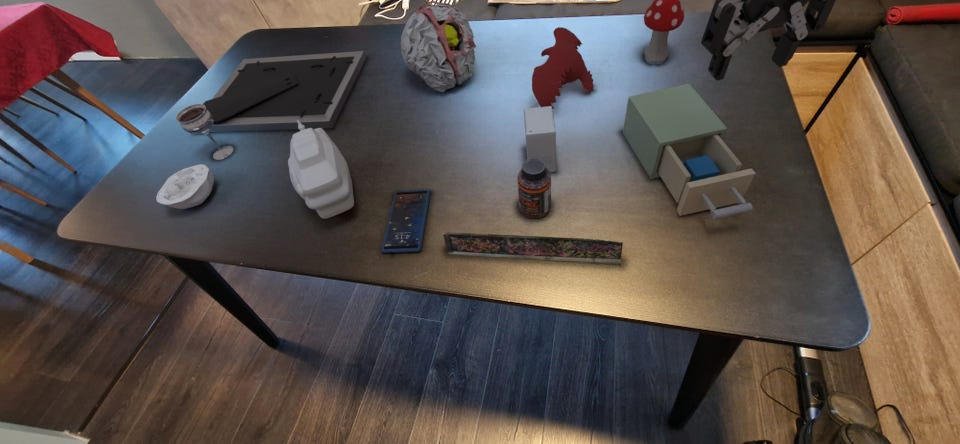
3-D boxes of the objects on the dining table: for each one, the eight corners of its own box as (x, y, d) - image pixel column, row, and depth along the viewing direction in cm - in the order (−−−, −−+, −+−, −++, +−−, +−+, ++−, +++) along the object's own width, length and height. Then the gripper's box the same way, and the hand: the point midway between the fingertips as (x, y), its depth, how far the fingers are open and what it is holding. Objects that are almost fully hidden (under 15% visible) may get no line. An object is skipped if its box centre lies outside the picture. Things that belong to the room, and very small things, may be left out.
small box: (556, 172, 86) (556, 132, 77) (528, 175, 86) (525, 135, 78) (552, 145, 91) (552, 104, 82) (526, 148, 91) (523, 107, 83)
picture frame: (196, 133, 112) (332, 128, 105) (187, 122, 109) (326, 116, 102) (247, 65, 130) (366, 58, 123) (240, 55, 127) (362, 46, 120)
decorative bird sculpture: (585, 70, 113) (547, 27, 107) (614, 50, 105) (575, 3, 100) (557, 141, 97) (511, 95, 92) (588, 123, 90) (541, 73, 85)
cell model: (233, 184, 97) (214, 163, 92) (191, 224, 91) (169, 203, 85) (203, 174, 101) (184, 153, 95) (162, 211, 94) (139, 191, 89)
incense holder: (447, 254, 77) (441, 237, 73) (448, 248, 78) (442, 231, 74) (620, 265, 71) (624, 247, 67) (620, 258, 72) (624, 240, 67)
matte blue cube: (712, 187, 76) (720, 171, 72) (689, 193, 76) (696, 176, 72) (701, 171, 78) (707, 154, 75) (678, 176, 78) (684, 160, 75)
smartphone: (430, 188, 86) (420, 250, 77) (431, 191, 87) (421, 252, 78) (394, 190, 87) (380, 251, 78) (395, 193, 88) (381, 254, 79)
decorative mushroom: (673, 70, 101) (689, 6, 89) (635, 68, 103) (645, 6, 91) (674, 47, 106) (690, -16, 94) (638, 46, 109) (649, -16, 97)
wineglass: (239, 154, 104) (207, 114, 94) (211, 166, 102) (176, 127, 93) (234, 139, 108) (203, 99, 98) (207, 151, 106) (174, 112, 97)
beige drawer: (756, 223, 71) (774, 195, 66) (693, 238, 71) (705, 210, 66) (703, 153, 82) (714, 123, 77) (648, 165, 82) (655, 136, 77)
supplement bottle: (515, 216, 80) (510, 174, 71) (525, 193, 83) (522, 150, 75) (545, 223, 78) (545, 181, 70) (555, 199, 82) (555, 156, 73)
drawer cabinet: (712, 165, 81) (727, 128, 74) (650, 179, 81) (659, 143, 74) (678, 120, 90) (689, 83, 83) (622, 132, 90) (628, 96, 83)
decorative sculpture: (424, 112, 116) (430, 89, 96) (385, 43, 114) (382, 5, 94) (482, 82, 119) (499, 53, 99) (445, 14, 117) (455, -29, 97)
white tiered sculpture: (350, 162, 96) (320, 104, 84) (370, 216, 85) (339, 159, 73) (303, 181, 94) (265, 124, 82) (317, 239, 83) (276, 184, 71)
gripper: (756, -40, 42) (709, 98, 55) (897, -72, 42) (817, 74, 55) (717, -66, 47) (682, 66, 59) (844, -94, 47) (782, 44, 59)
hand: (747, 70), depth 57 cm, fingers open, 8 cm apart
